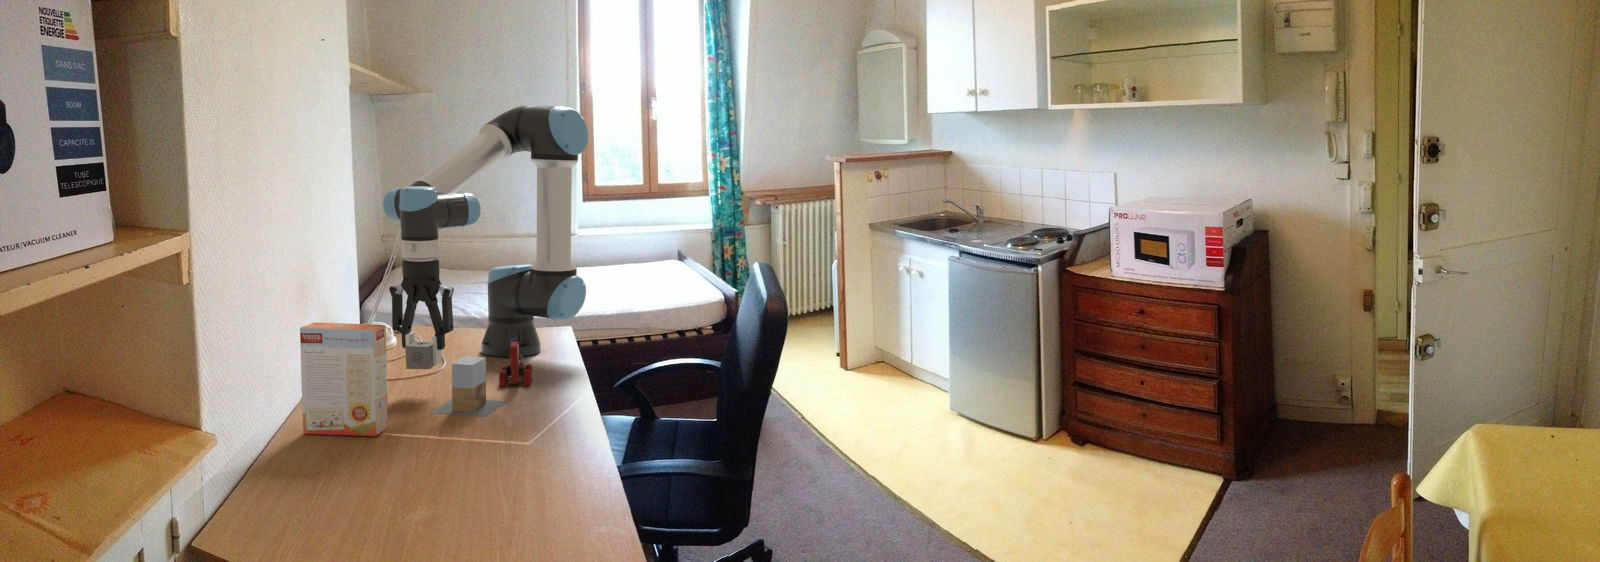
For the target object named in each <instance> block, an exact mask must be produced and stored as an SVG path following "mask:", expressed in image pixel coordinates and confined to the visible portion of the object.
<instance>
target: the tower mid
mask: <svg viewBox="0 0 1600 562" xmlns="http://www.w3.org/2000/svg"><path fill="white" fill-rule="evenodd" d="M486 359H487V357H481V356H464V357H462V358H460V359H458V360H456V361H454V362H453V363H452V364H451V388H452V387H454V388H470V389H473V388H475V387H476V386H478V385H480V384H481V383H483V382H484V381H486V382H487V360H486Z"/></svg>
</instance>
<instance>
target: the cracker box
mask: <svg viewBox="0 0 1600 562" xmlns="http://www.w3.org/2000/svg"><path fill="white" fill-rule="evenodd" d="M386 327H387V326H386V325H385V324H372V323H371V324H367V323H345V322H340V323H339V322H311V323H309V324H306V325H303V326H300V327H299V334H300V335H299V340H300V343H299V345H300V373H301V376H300V377H301V379H300V380H301V405H302V406H301V407H302V408H301V410H302V433H303V434H304V435H322V436H323V435H326V436H349V437H350V436H352V437H354V436H355V437H372V438H373V437H377V436H378V435H380V434H382V432H384V431H385V430H387V429H388V428H389V425H388V423H389V422H388V420H389V419H388V418H389V417H388V416H389V415H388V376H387V374H388V371H387V368H388V365H387V333H386V332H387V331H386V330H387V329H386Z"/></svg>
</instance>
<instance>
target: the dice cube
mask: <svg viewBox="0 0 1600 562" xmlns="http://www.w3.org/2000/svg"><path fill="white" fill-rule="evenodd" d="M404 349H405V363H406V365H405V366H406V367H405V368H406V369H407V370H431V369H432V368H434V367H435V366H436V365H433V348H432V340H431V341H427V340H426V341H425V340H424V341H421V340H419V341H418V340H417V341H416V340H415V341H413V342H412V343H410V344H408V345H407V346H405V348H404Z"/></svg>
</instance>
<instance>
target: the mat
mask: <svg viewBox="0 0 1600 562" xmlns="http://www.w3.org/2000/svg"><path fill="white" fill-rule="evenodd" d="M506 403H508V400H496V399H495V400H494V399H493V400H492V399H486V404H484V405H483V406H481V407H480V408H478V409H477V410H475V411H474V412H464V411H452V398H451V399H449V400H448V401H446V402H445V403H443V404H441V405H440V406H438V407H436V408H434V409H433V410H432V411H430V412H429V414H435V415H436V414H437V415H452V416H465V417H466V416H470V417H483V418H486V417H488V416H489V415H491V414H492V413H493V412H495V411H496V410H498V409H499V408H500V407H502V406H503V405H505V404H506Z"/></svg>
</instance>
